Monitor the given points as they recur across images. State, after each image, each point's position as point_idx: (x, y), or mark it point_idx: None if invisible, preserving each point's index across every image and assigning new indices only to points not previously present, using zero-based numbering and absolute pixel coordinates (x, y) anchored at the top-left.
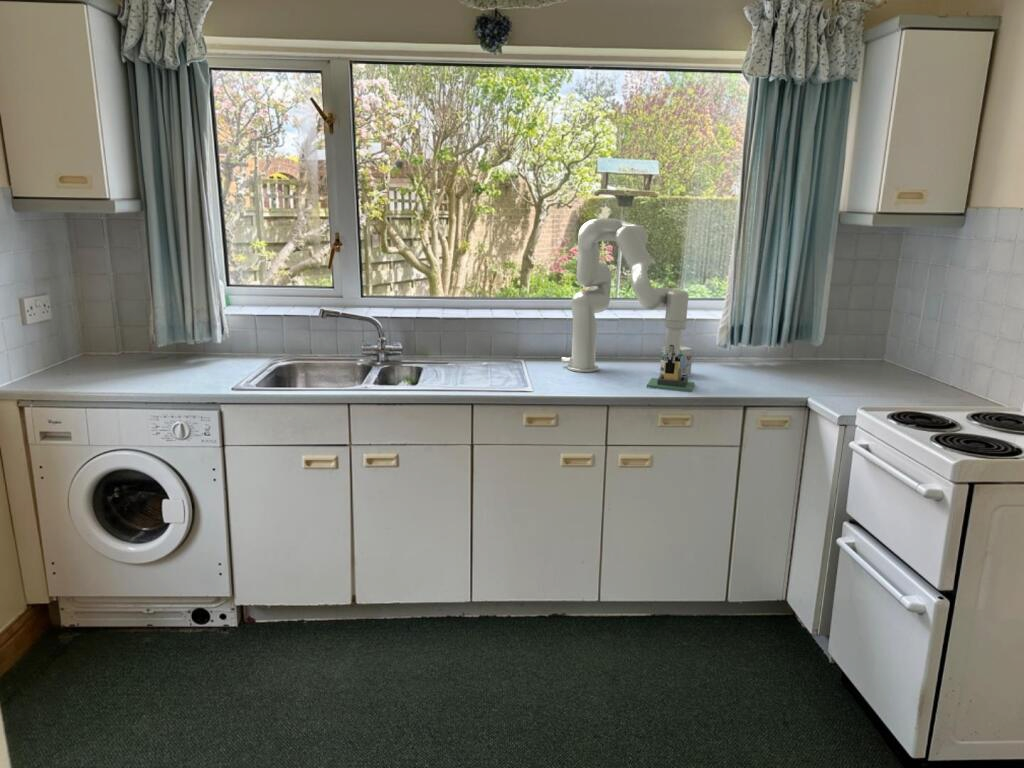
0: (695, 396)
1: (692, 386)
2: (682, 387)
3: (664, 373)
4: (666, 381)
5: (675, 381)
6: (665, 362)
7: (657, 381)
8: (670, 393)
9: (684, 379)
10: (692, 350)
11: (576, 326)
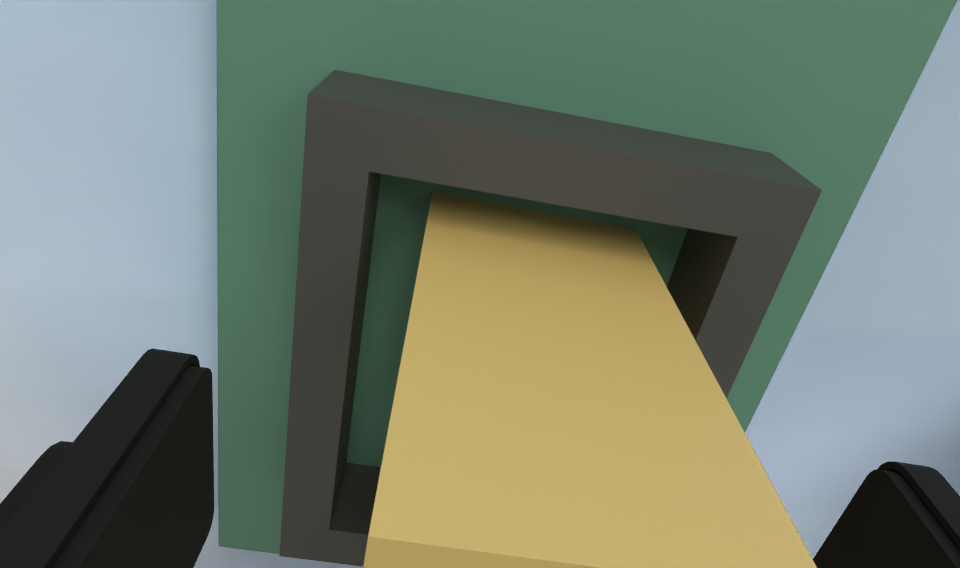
0: None
1: None
2: (278, 458)
3: (412, 304)
4: (303, 273)
5: (290, 425)
6: (418, 561)
7: (319, 83)
8: (3, 269)
9: None
10: None
11: None
